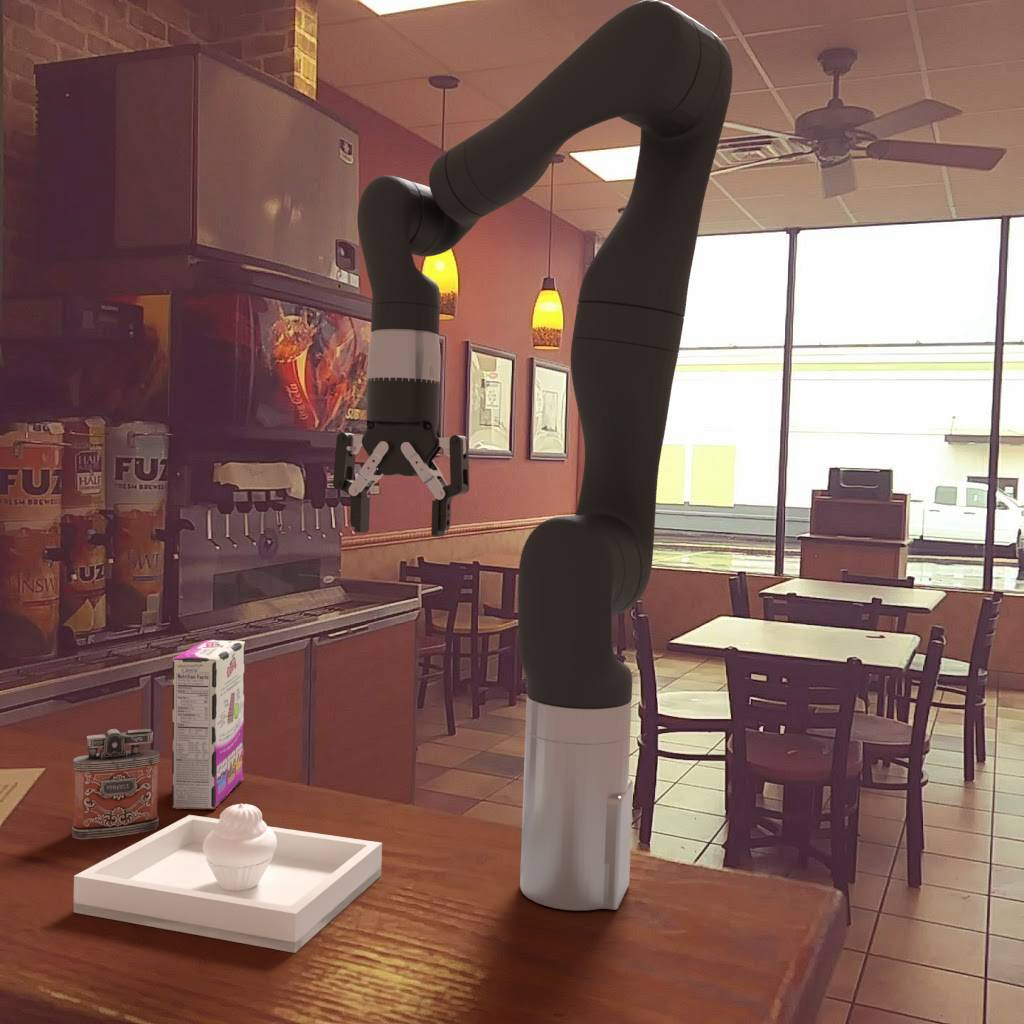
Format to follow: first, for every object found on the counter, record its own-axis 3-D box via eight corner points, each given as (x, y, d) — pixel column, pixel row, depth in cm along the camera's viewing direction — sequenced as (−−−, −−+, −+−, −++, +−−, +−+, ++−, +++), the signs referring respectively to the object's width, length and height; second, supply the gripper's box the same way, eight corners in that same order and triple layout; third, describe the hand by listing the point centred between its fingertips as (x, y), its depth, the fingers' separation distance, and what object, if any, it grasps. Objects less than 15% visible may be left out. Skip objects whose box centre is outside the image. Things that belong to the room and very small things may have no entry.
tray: (381, 875, 93) (382, 842, 93) (295, 952, 78) (295, 913, 78) (188, 845, 99) (189, 814, 99) (73, 912, 84) (74, 875, 84)
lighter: (73, 841, 99) (75, 738, 99) (70, 830, 102) (72, 730, 102) (161, 830, 103) (163, 731, 103) (155, 820, 106) (157, 723, 106)
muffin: (201, 873, 91) (202, 794, 90) (272, 867, 92) (274, 789, 92) (202, 902, 85) (204, 817, 84) (279, 895, 87) (281, 812, 86)
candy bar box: (201, 779, 120) (204, 638, 120) (244, 780, 120) (247, 640, 119) (167, 810, 109) (170, 655, 108) (214, 812, 109) (218, 657, 108)
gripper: (480, 382, 109) (475, 536, 109) (355, 380, 112) (351, 529, 113) (457, 375, 101) (451, 540, 102) (324, 374, 105) (320, 532, 106)
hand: (399, 534), depth 108 cm, fingers open, 8 cm apart
